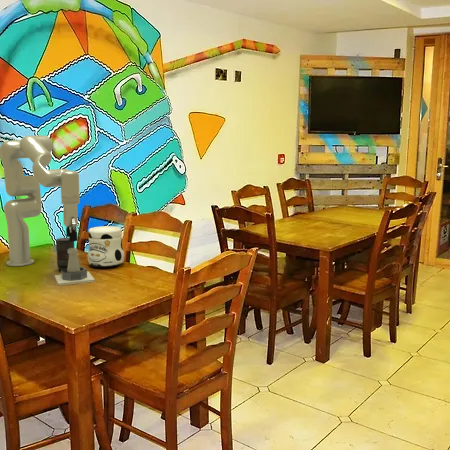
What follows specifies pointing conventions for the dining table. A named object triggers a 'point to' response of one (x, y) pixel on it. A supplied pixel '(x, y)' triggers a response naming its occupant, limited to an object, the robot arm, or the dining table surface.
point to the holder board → (66, 282)
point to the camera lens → (63, 252)
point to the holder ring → (74, 274)
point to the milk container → (105, 246)
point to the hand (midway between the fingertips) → (71, 238)
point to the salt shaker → (73, 260)
